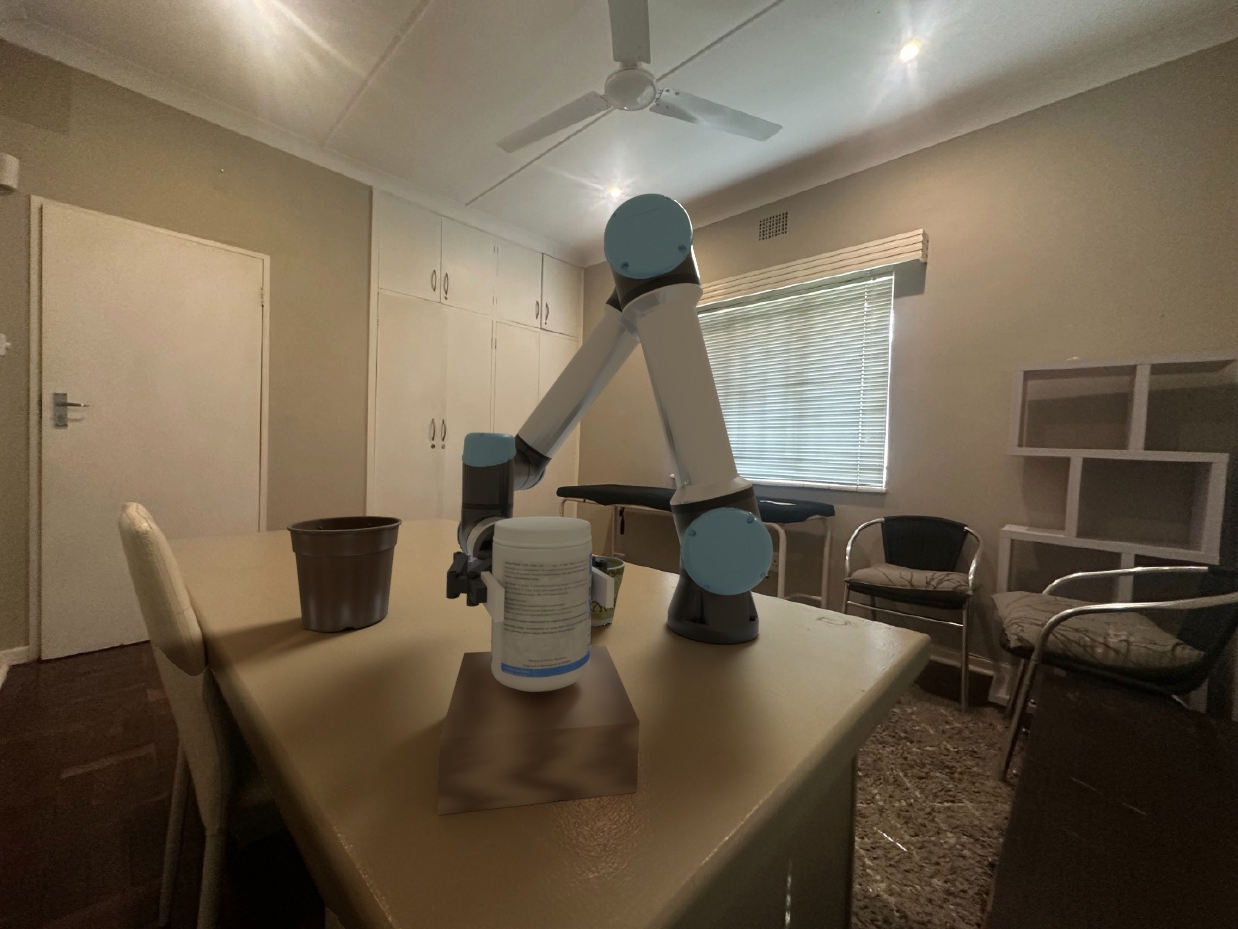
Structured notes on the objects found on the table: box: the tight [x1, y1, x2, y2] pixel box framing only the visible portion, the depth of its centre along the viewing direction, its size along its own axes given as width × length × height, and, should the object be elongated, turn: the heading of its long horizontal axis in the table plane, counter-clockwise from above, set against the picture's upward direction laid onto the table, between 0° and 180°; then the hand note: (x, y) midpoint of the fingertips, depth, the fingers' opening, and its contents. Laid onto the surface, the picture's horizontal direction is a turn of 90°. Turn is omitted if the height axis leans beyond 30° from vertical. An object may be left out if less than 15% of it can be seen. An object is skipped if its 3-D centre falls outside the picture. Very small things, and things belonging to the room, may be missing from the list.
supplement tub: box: [490, 515, 593, 692], centre depth 46 cm, size 10×10×15 cm
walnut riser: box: [437, 645, 640, 816], centre depth 46 cm, size 16×16×6 cm
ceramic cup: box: [591, 555, 626, 627], centre depth 82 cm, size 13×10×10 cm
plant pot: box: [286, 515, 403, 633], centre depth 77 cm, size 16×16×16 cm
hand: (558, 599), depth 42 cm, fingers open, 10 cm apart
